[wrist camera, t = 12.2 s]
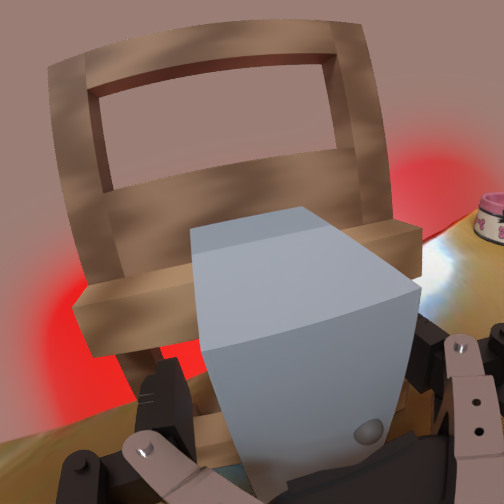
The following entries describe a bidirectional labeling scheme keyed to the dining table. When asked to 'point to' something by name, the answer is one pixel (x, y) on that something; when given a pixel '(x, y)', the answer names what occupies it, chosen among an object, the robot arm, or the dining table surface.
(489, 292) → the dining table surface
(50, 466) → the dining table surface
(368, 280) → the cabinet
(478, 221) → the dog bowl
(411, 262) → the rack
